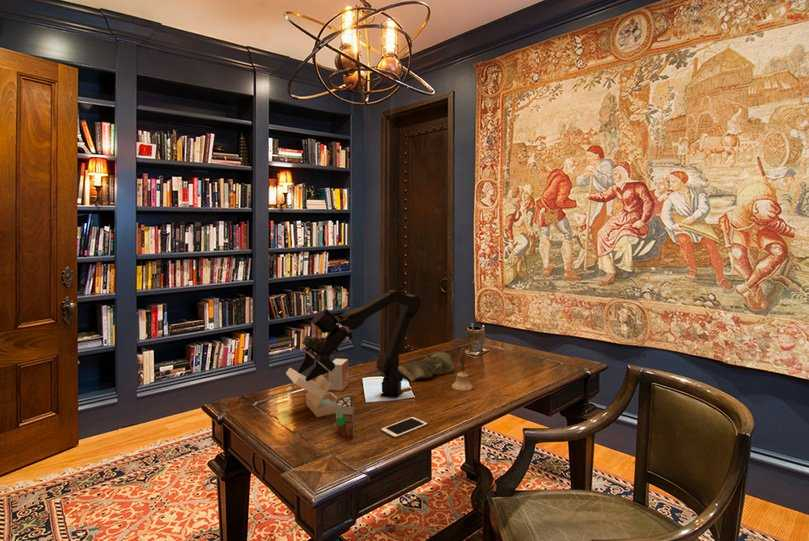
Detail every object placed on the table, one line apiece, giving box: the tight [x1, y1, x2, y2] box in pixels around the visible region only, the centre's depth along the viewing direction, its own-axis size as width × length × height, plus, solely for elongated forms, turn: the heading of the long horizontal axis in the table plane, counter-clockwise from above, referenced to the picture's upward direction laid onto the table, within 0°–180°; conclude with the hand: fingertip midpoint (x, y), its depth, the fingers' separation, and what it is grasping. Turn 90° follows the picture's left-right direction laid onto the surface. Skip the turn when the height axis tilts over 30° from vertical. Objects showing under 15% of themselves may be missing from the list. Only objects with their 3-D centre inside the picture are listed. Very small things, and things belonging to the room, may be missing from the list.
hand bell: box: [451, 347, 474, 392], centre depth 182 cm, size 8×8×16 cm
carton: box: [305, 391, 338, 418], centre depth 163 cm, size 10×12×3 cm
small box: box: [328, 358, 349, 392], centre depth 183 cm, size 8×6×10 cm
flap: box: [285, 367, 332, 408], centre depth 159 cm, size 9×12×12 cm
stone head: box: [398, 351, 455, 383], centre depth 202 cm, size 19×8×28 cm
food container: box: [333, 393, 355, 439], centre depth 144 cm, size 12×6×10 cm, turn 5°
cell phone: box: [379, 416, 429, 439], centre depth 147 cm, size 8×15×1 cm, turn 132°
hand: (302, 376), depth 158 cm, fingers open, 9 cm apart
